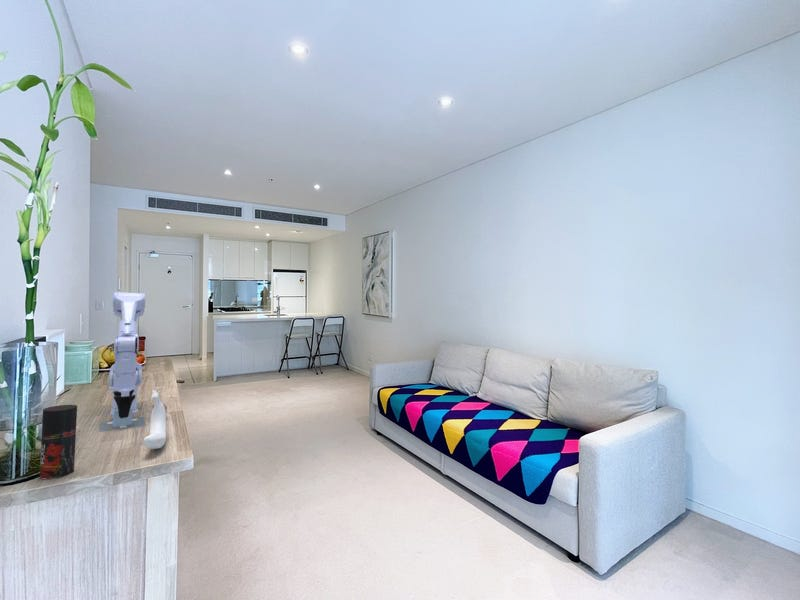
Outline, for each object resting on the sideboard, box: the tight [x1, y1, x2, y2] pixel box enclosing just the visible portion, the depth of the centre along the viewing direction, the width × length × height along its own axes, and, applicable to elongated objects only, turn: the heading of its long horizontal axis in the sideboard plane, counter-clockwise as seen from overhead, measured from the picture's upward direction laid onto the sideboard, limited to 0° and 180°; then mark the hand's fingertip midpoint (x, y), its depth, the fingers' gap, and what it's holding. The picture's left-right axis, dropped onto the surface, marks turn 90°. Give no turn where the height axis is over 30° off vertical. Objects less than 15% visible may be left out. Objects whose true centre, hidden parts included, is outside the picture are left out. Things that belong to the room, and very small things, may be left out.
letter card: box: [98, 416, 147, 433], centre depth 124 cm, size 12×12×1 cm
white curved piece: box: [142, 389, 167, 450], centre depth 106 cm, size 5×19×15 cm, turn 30°
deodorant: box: [39, 404, 78, 480], centre depth 88 cm, size 6×6×15 cm
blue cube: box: [112, 406, 134, 427], centre depth 124 cm, size 5×5×5 cm
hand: (123, 414), depth 125 cm, fingers open, 7 cm apart
